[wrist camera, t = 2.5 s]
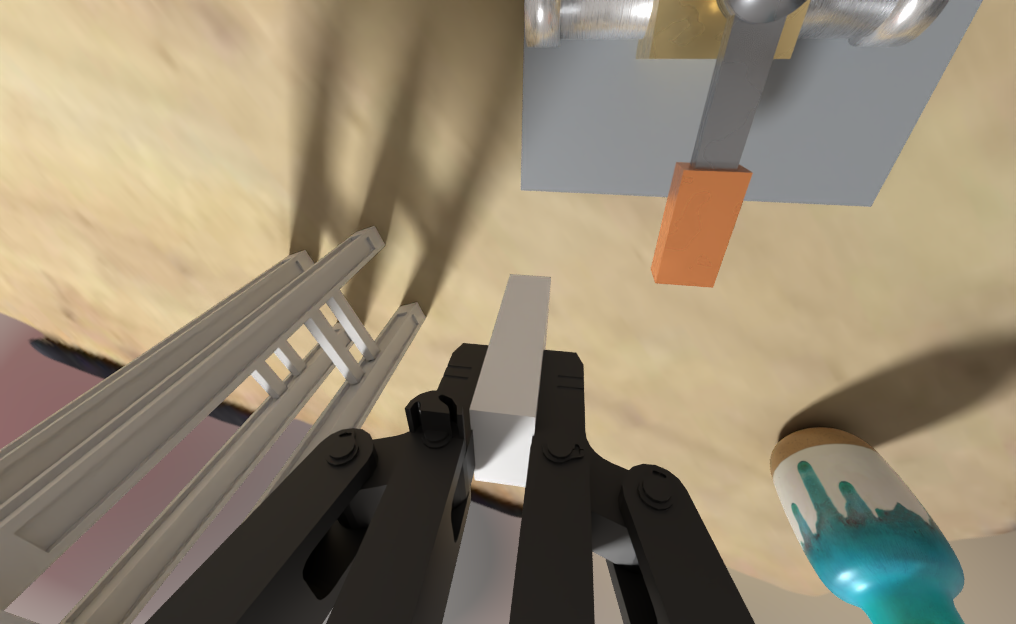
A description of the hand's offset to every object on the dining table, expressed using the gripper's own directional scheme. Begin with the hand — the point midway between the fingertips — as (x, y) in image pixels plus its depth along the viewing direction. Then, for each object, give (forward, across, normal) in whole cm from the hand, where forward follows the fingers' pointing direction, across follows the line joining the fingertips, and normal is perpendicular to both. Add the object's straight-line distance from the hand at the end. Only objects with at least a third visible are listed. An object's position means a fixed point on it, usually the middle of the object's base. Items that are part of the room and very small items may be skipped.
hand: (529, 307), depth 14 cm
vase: (+21, -31, +29) cm, 48 cm away
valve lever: (+10, -8, -5) cm, 14 cm away
